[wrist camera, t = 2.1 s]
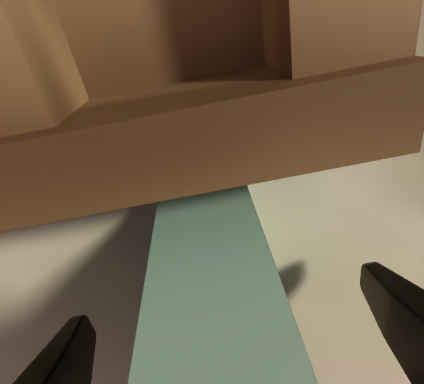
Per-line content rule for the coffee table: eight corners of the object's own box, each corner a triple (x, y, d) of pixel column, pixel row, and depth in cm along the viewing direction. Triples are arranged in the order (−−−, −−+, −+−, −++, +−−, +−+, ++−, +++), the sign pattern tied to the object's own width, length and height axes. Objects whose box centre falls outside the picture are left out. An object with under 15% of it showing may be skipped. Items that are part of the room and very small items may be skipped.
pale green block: (263, 318, 13) (334, 596, 7) (202, 329, 13) (216, 615, 7) (242, 169, 9) (352, 466, 3) (158, 186, 9) (102, 508, 3)
